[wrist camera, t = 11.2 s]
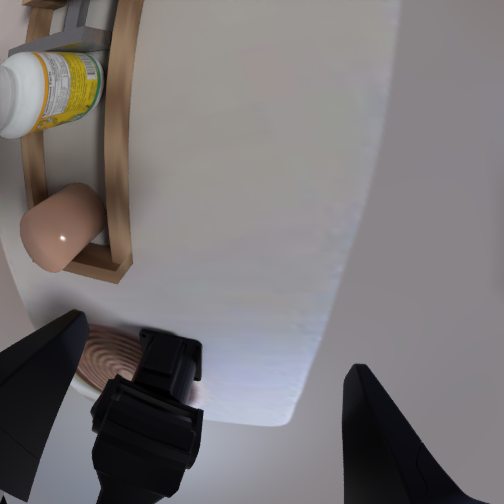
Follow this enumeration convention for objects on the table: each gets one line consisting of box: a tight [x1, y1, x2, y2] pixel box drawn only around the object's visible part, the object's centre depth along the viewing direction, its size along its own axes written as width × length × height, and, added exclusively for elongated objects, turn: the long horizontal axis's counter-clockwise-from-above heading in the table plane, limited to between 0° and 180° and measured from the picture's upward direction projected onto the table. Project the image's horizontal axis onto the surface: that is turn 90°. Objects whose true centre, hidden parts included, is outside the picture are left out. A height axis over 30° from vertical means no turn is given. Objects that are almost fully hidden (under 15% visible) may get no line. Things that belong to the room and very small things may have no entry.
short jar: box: [20, 183, 106, 273], centre depth 19 cm, size 5×5×6 cm
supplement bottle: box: [0, 52, 105, 139], centre depth 12 cm, size 5×5×10 cm
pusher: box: [8, 0, 113, 58], centre depth 11 cm, size 7×7×4 cm
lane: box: [21, 0, 144, 284], centre depth 15 cm, size 26×10×4 cm, turn 172°
